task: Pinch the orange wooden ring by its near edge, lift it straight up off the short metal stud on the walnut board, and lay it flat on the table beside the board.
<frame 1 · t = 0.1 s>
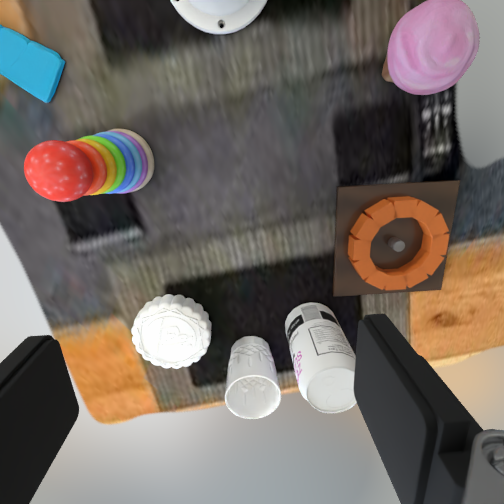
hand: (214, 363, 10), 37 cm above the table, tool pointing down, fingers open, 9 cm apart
mooncake: (174, 325, 52), on the table
white cup: (250, 351, 55), on the table
supplement can: (309, 321, 53), on the table
ring: (397, 244, 46), point 2 cm above the table, touching board
stacking toy: (126, 160, 43), on the table
sponge: (12, 52, 38), on the table
board: (390, 240, 48), on the table
cupcake: (401, 61, 40), on the table
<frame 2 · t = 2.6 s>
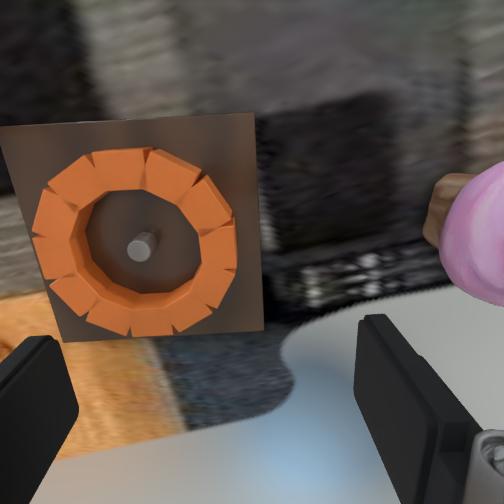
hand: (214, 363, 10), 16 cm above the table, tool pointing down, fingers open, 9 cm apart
ring: (142, 247, 23), point 2 cm above the table, touching board
board: (149, 238, 25), on the table
cupcake: (453, 207, 25), on the table
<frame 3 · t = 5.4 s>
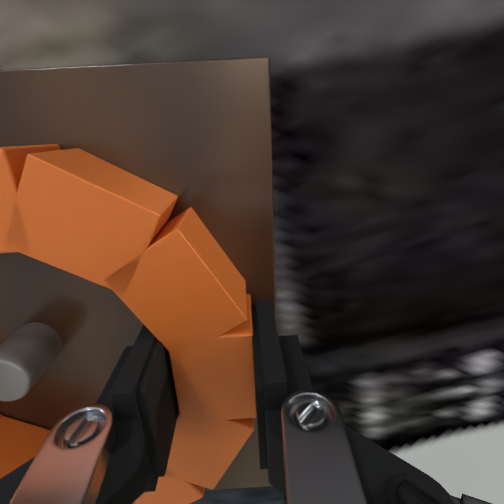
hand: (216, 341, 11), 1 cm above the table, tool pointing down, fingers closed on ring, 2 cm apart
ring: (47, 366, 10), point 2 cm above the table, touching board, gripper
board: (51, 328, 12), on the table
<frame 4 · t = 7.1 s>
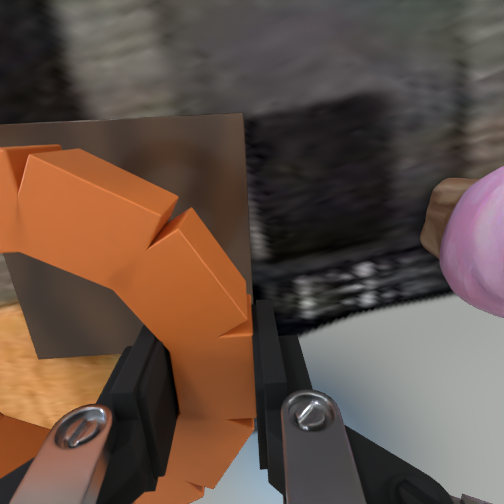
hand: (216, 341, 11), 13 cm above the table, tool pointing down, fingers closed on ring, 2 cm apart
ring: (47, 365, 10), point 14 cm above the table, touching gripper
board: (132, 247, 23), on the table
cupcake: (451, 213, 24), on the table
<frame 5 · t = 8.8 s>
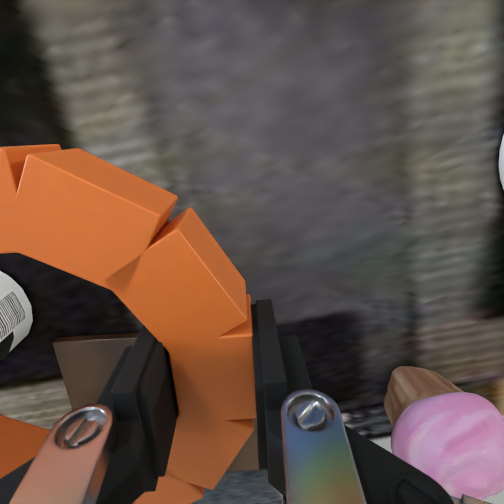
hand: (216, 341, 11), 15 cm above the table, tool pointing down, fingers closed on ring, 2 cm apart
ring: (46, 366, 10), point 16 cm above the table, touching gripper
board: (167, 406, 31), on the table
cupcake: (408, 381, 32), on the table
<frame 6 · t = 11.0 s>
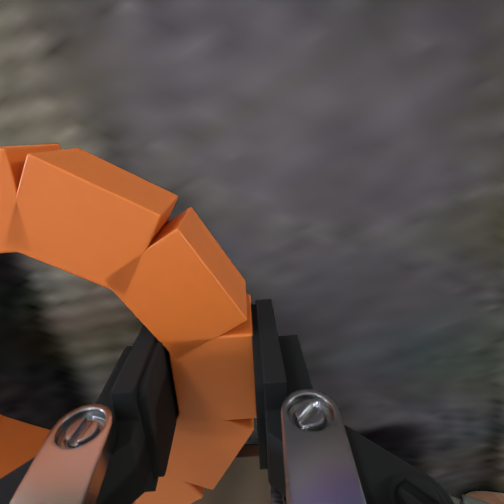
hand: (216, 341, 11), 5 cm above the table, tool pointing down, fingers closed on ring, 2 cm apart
ring: (46, 366, 10), point 6 cm above the table, touching gripper
when the fingers open (0 cm above the table, at t = 12.5 s): ring stays where it is, point 1 cm above the table.
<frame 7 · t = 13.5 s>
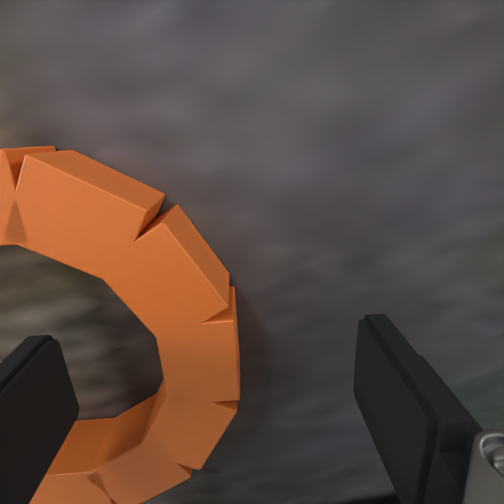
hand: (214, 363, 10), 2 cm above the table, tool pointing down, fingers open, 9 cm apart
ring: (42, 353, 11), point 1 cm above the table
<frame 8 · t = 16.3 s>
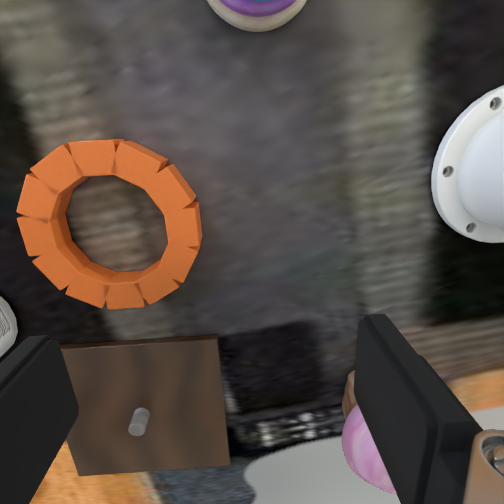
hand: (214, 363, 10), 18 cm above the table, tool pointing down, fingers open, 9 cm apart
ring: (115, 228, 26), point 1 cm above the table
board: (144, 407, 34), on the table
cupcake: (364, 383, 34), on the table
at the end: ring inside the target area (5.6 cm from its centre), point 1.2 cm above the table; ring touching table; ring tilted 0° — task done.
